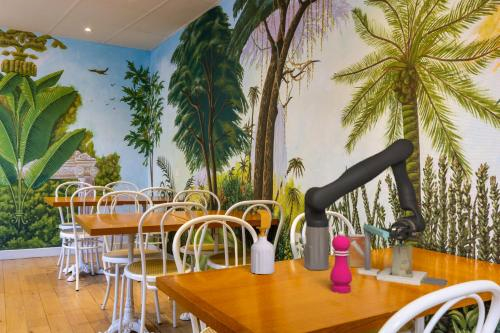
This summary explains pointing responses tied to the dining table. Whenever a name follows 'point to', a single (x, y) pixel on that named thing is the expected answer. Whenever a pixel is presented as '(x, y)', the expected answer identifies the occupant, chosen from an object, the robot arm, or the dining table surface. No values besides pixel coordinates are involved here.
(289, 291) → the dining table surface
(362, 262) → the small box
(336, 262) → the pepper mill
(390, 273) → the holder
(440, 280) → the coaster
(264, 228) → the soap bottle
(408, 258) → the skincare box
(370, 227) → the swing bar
